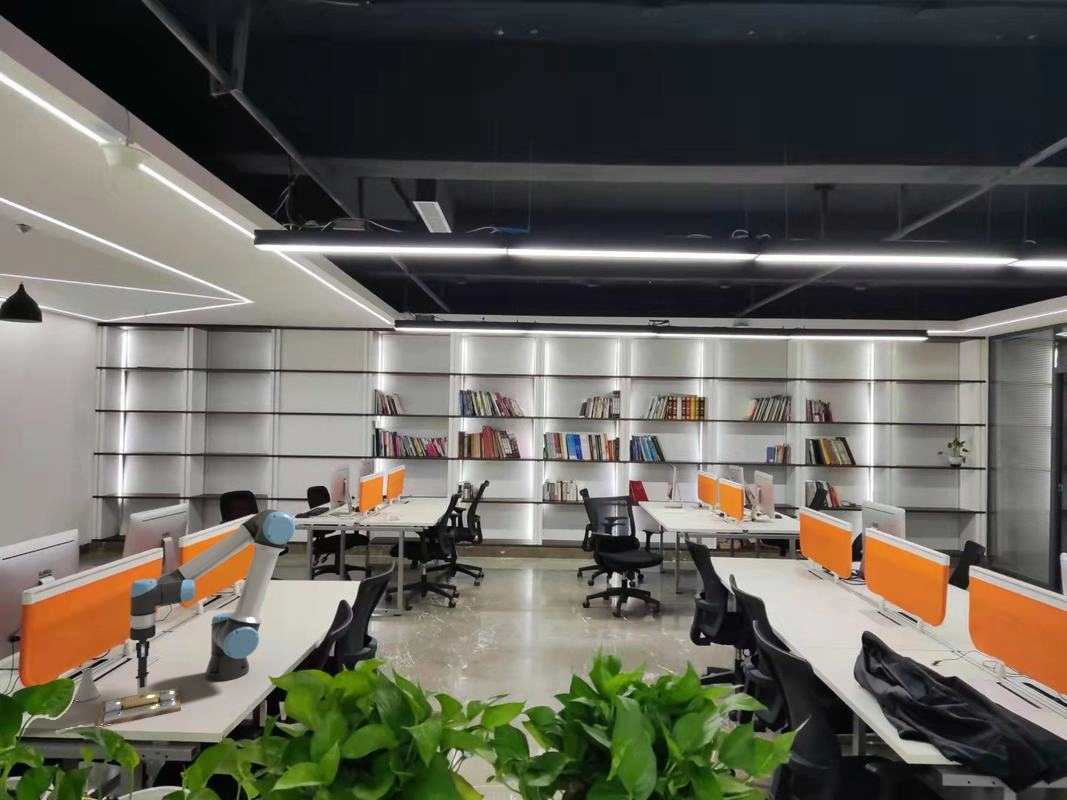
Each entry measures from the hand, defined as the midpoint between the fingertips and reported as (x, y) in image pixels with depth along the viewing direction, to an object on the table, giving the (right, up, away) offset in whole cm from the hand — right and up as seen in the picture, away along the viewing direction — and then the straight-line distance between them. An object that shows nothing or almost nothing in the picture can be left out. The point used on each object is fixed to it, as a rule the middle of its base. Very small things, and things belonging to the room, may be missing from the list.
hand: (141, 695), depth 217 cm
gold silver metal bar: (0, -3, -1) cm, 3 cm away
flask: (-24, -5, +8) cm, 26 cm away
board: (0, -4, -1) cm, 4 cm away
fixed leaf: (+3, -2, -5) cm, 6 cm away
